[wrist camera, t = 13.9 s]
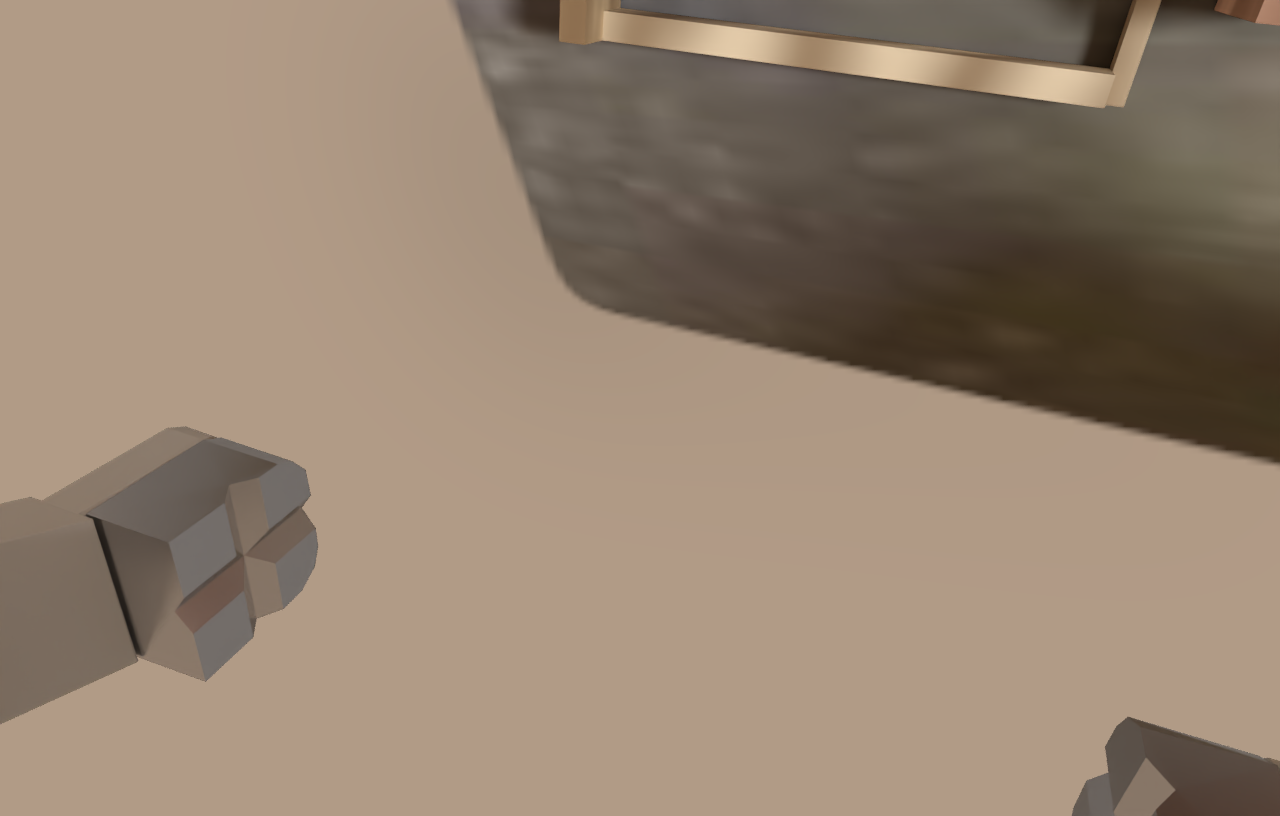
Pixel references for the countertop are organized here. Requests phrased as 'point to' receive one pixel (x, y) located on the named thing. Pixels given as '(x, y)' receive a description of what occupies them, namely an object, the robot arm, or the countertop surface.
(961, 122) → the countertop surface
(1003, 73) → the frame
